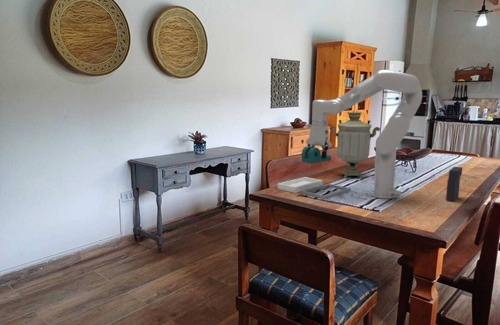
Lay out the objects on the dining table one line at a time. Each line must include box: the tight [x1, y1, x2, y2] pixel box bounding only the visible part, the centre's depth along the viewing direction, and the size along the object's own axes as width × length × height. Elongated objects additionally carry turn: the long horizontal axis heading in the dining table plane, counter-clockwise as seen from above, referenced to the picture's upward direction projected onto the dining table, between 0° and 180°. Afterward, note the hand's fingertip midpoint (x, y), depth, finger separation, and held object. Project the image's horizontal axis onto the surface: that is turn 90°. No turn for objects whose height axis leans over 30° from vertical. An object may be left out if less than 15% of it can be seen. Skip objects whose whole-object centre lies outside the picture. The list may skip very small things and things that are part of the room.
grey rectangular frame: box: [301, 183, 352, 200], centre depth 190 cm, size 15×23×2 cm, turn 132°
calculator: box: [445, 166, 463, 202], centre depth 174 cm, size 11×4×15 cm, turn 141°
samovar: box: [329, 111, 381, 179], centre depth 227 cm, size 30×26×40 cm
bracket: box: [301, 145, 332, 165], centre depth 191 cm, size 18×7×8 cm, turn 130°
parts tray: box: [277, 176, 324, 194], centre depth 202 cm, size 13×24×3 cm, turn 132°
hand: (318, 157), depth 191 cm, fingers closed on bracket, 7 cm apart
